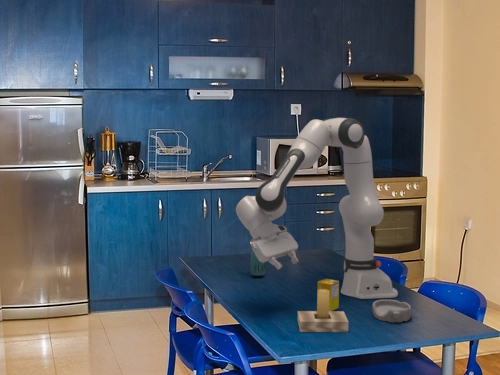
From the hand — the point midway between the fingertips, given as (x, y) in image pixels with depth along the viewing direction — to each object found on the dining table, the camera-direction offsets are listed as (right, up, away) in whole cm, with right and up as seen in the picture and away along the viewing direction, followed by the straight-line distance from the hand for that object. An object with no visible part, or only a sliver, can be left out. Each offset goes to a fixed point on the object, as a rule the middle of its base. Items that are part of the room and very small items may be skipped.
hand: (288, 265), depth 254 cm
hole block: (+11, -20, -9) cm, 24 cm away
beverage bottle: (-10, -12, +58) cm, 60 cm away
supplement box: (+15, -18, +10) cm, 25 cm away
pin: (+11, -19, -9) cm, 24 cm away
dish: (+37, -19, +2) cm, 42 cm away
